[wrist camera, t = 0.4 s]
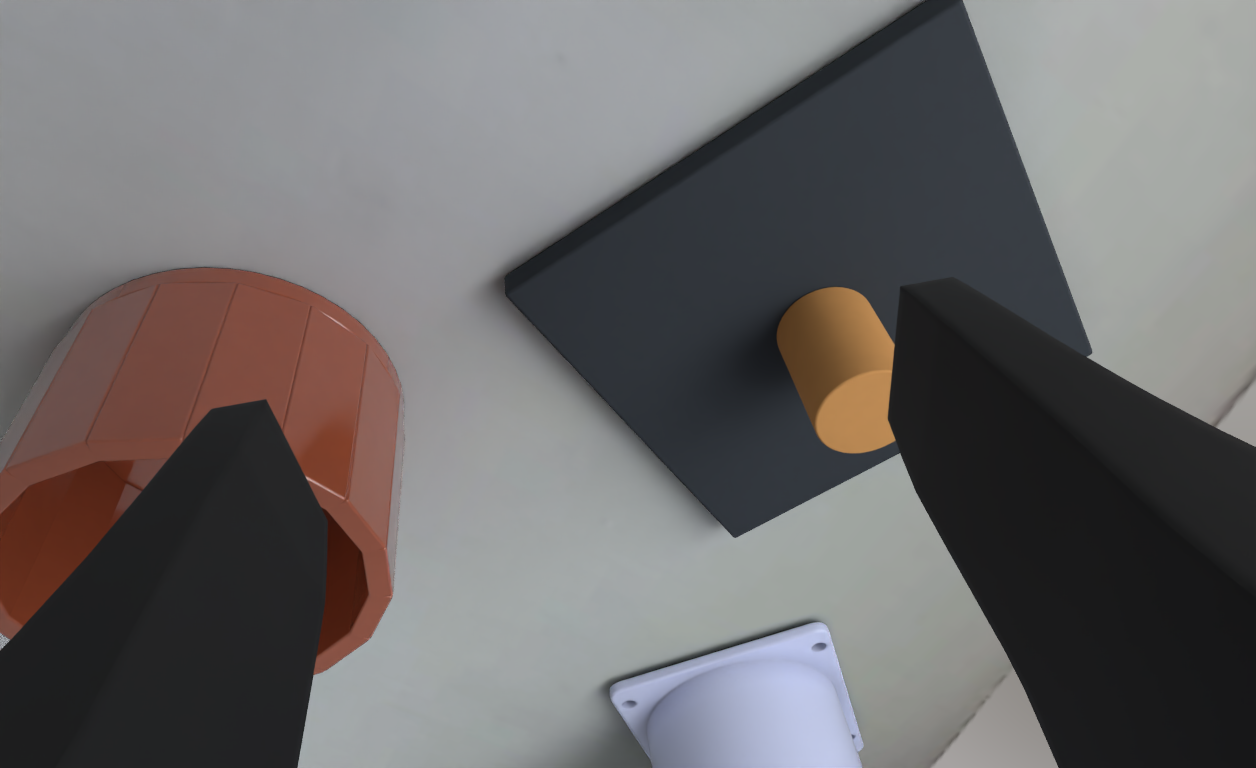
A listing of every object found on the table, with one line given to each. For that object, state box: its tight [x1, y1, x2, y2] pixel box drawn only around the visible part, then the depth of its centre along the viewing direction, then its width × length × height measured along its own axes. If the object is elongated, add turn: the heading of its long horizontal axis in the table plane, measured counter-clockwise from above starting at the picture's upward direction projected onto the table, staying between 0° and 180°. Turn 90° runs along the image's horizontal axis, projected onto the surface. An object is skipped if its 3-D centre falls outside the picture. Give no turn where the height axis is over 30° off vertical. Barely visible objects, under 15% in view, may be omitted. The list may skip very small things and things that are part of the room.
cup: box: [0, 267, 405, 675], centre depth 20 cm, size 8×8×6 cm
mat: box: [505, 0, 1092, 538], centre depth 21 cm, size 11×11×4 cm
